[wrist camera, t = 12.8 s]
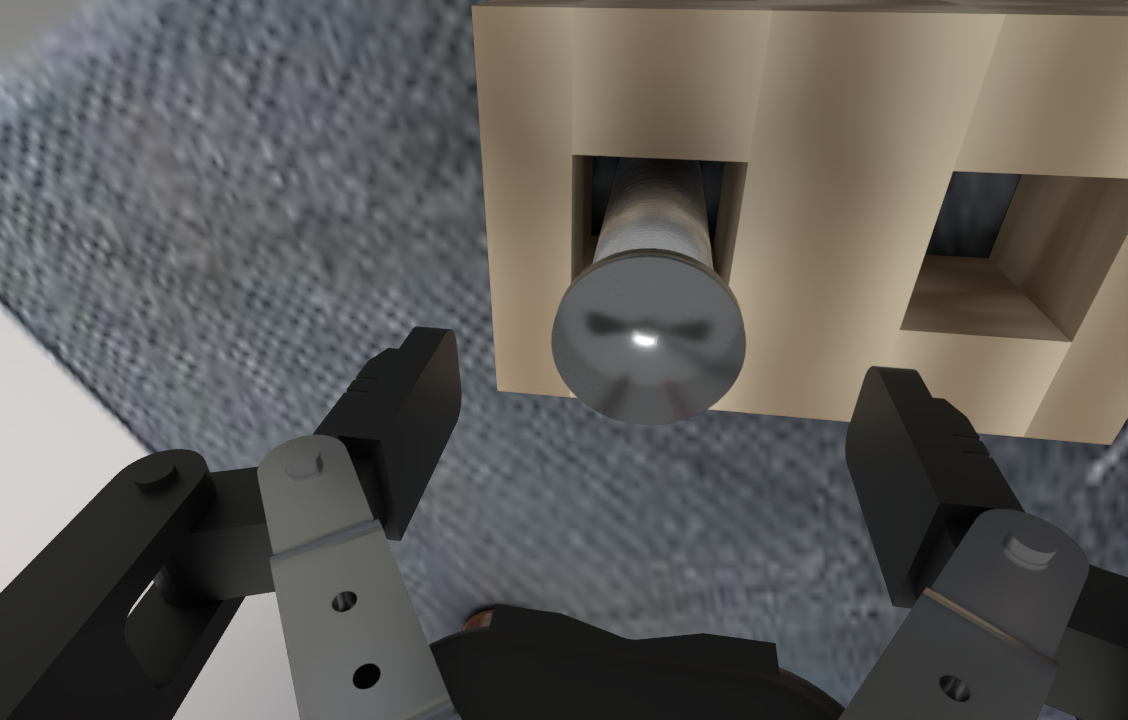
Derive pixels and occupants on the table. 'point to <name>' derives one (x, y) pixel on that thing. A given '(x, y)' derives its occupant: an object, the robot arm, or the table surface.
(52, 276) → the table surface
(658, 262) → the clevis pin
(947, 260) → the hole block
